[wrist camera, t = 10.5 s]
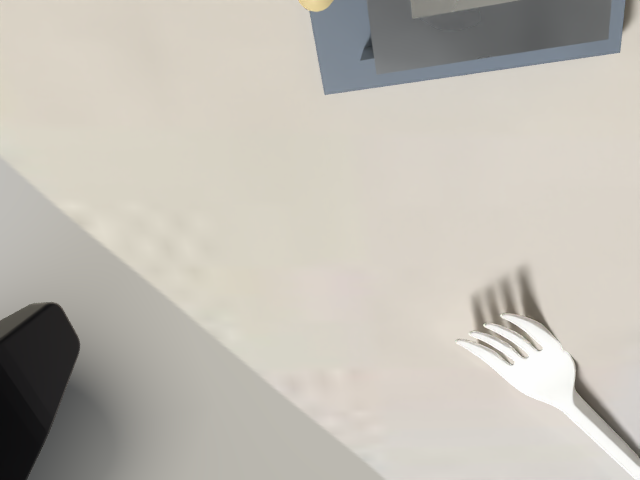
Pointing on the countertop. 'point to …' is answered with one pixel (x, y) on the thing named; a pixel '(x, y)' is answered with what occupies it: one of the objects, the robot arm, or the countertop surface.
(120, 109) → the countertop surface
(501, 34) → the block
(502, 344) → the fork
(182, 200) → the countertop surface
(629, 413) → the countertop surface
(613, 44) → the tray
